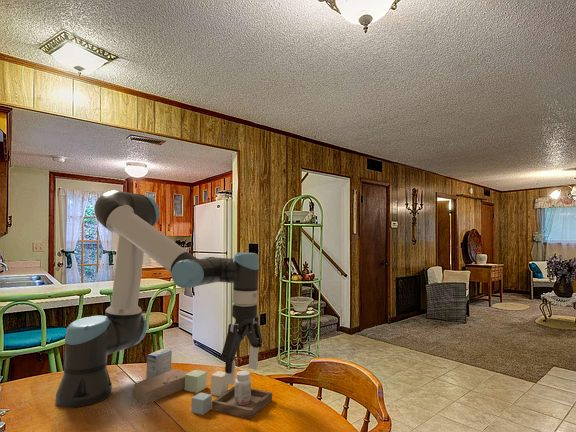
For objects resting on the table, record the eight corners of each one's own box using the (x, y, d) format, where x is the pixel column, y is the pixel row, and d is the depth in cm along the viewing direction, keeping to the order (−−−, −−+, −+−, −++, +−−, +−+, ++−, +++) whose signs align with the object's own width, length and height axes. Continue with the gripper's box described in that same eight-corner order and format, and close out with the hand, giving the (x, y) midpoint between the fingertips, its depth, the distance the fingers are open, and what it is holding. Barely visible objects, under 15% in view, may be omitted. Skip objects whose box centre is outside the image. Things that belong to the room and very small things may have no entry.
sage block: (184, 390, 117) (185, 374, 117) (194, 384, 122) (194, 369, 122) (197, 393, 115) (197, 377, 115) (206, 387, 120) (207, 371, 120)
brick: (145, 405, 107) (146, 389, 107) (130, 397, 112) (131, 382, 112) (191, 387, 120) (191, 373, 120) (175, 381, 125) (176, 367, 125)
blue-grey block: (191, 412, 102) (191, 397, 103) (200, 406, 106) (200, 392, 106) (202, 415, 101) (203, 400, 101) (211, 409, 104) (211, 394, 105)
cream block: (210, 394, 114) (211, 374, 115) (217, 389, 118) (218, 370, 118) (221, 396, 113) (221, 377, 113) (228, 391, 116) (228, 372, 117)
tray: (211, 409, 104) (212, 401, 104) (235, 392, 116) (235, 385, 116) (251, 419, 99) (251, 410, 99) (272, 400, 111) (272, 392, 111)
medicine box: (161, 372, 132) (162, 348, 133) (171, 374, 131) (172, 349, 131) (145, 380, 125) (146, 354, 126) (155, 382, 123) (156, 356, 124)
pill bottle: (252, 399, 109) (253, 370, 110) (247, 406, 104) (248, 376, 105) (238, 397, 110) (238, 369, 111) (232, 404, 106) (232, 374, 106)
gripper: (233, 312, 96) (229, 394, 95) (274, 299, 119) (271, 364, 118) (210, 309, 99) (206, 388, 98) (254, 296, 122) (251, 360, 121)
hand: (242, 375), depth 108 cm, fingers open, 13 cm apart
